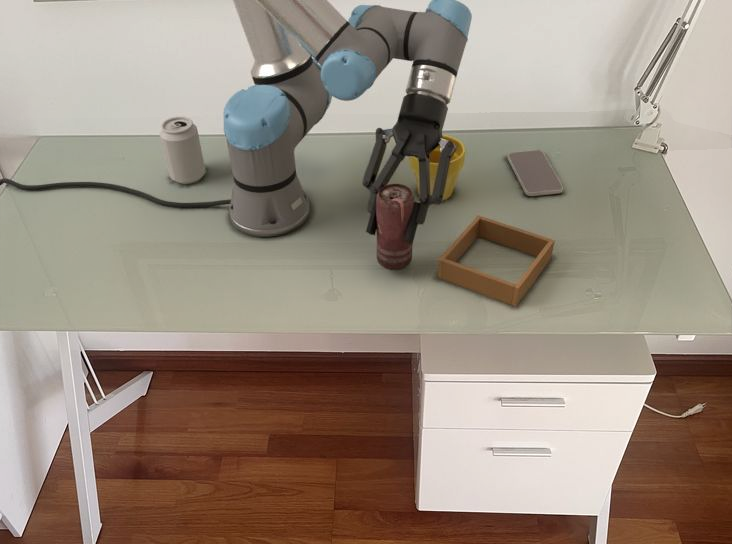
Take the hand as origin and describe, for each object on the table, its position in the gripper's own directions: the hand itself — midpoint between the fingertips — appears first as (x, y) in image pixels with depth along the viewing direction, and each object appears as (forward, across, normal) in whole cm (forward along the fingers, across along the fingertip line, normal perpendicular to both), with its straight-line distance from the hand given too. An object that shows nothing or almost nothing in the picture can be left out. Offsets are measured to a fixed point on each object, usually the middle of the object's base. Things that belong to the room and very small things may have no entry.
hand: (389, 237), depth 125 cm
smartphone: (-22, +15, +34) cm, 43 cm away
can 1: (-4, -51, +16) cm, 54 cm away
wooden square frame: (0, +16, +13) cm, 20 cm away
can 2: (+3, 0, +7) cm, 7 cm away
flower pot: (-13, -1, +25) cm, 29 cm away
